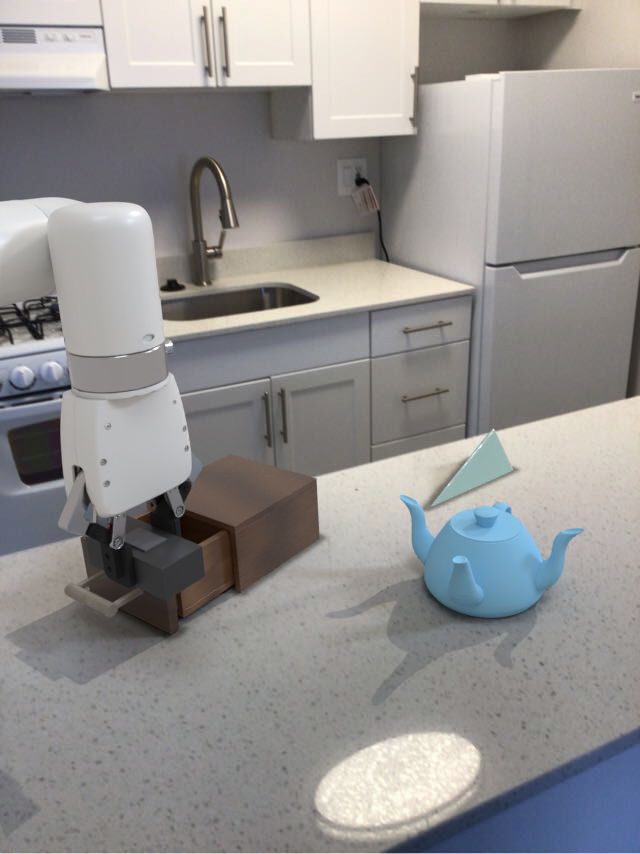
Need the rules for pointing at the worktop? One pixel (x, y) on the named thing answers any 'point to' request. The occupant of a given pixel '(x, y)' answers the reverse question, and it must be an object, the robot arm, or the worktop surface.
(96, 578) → the drawer
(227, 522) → the cabinet
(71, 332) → the robot arm
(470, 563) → the teapot
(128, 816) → the worktop surface
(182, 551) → the remote
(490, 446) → the pale green wedge
